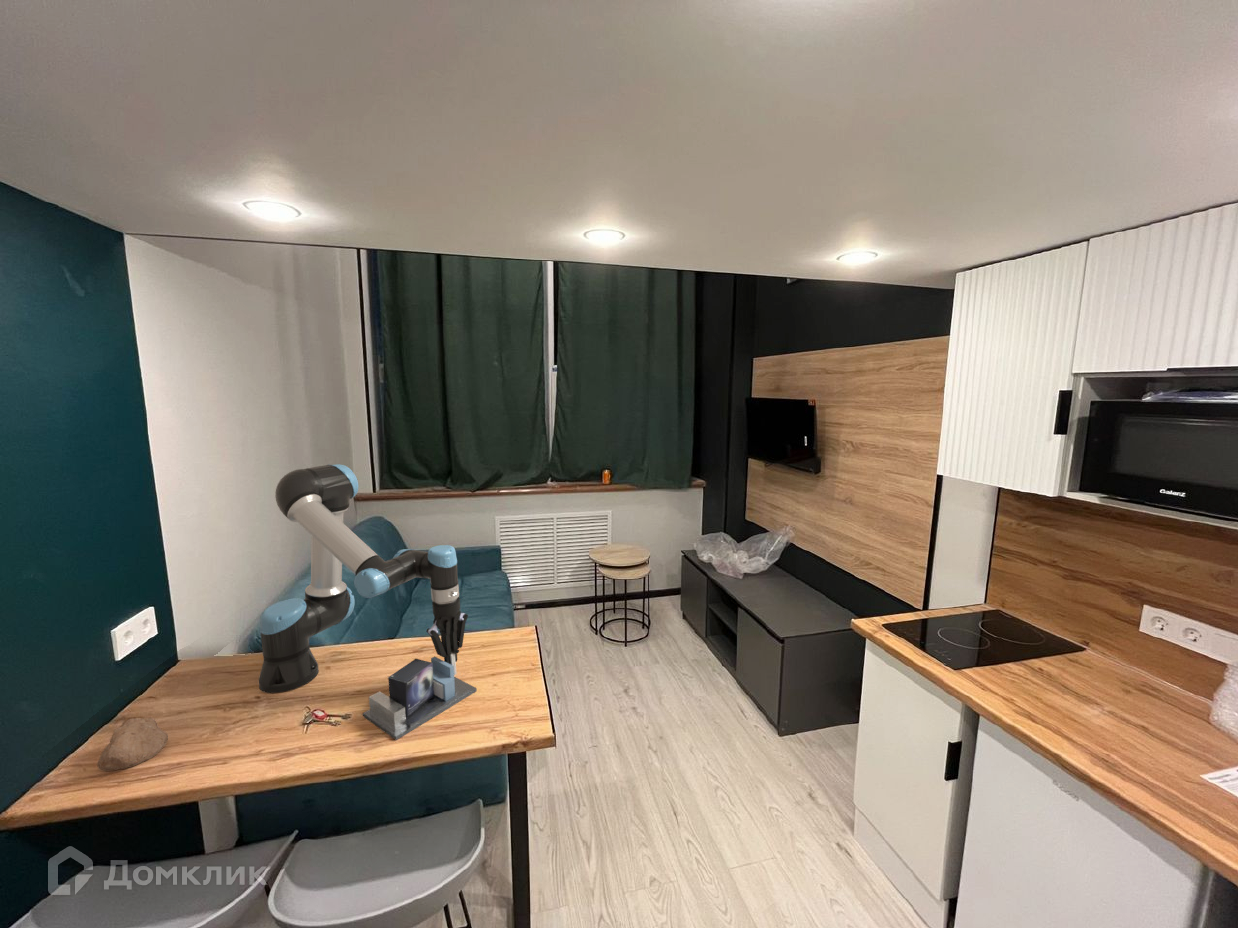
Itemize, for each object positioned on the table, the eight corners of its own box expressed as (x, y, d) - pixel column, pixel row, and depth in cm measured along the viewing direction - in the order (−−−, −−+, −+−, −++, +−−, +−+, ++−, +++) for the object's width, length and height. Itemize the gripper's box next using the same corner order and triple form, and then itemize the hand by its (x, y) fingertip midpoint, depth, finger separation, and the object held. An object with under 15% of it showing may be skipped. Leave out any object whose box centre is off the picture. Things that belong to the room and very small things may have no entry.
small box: (408, 719, 129) (405, 682, 128) (388, 713, 131) (386, 677, 130) (435, 696, 139) (433, 661, 138) (417, 691, 141) (415, 657, 140)
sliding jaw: (419, 687, 143) (417, 661, 142) (432, 679, 147) (431, 654, 146) (444, 701, 136) (442, 675, 135) (458, 693, 140) (457, 667, 139)
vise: (362, 716, 132) (361, 695, 131) (442, 673, 152) (441, 655, 151) (396, 740, 123) (394, 718, 122) (476, 691, 143) (475, 672, 142)
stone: (148, 744, 124) (114, 721, 121) (182, 723, 125) (150, 699, 122) (116, 787, 113) (78, 763, 109) (154, 763, 114) (117, 738, 110)
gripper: (434, 610, 134) (441, 688, 138) (472, 593, 144) (477, 666, 148) (418, 604, 138) (425, 680, 142) (455, 588, 149) (461, 659, 153)
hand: (451, 673), depth 145 cm, fingers closed
